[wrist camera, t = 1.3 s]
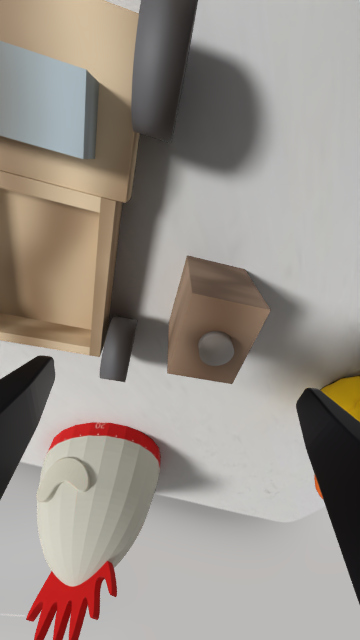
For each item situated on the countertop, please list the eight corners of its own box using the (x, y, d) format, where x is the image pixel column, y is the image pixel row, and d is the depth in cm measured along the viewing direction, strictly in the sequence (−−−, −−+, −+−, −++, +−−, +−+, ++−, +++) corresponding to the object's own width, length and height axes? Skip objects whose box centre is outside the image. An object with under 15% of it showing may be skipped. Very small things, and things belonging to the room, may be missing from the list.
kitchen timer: (26, 437, 30) (-79, 640, 17) (130, 410, 28) (93, 622, 15) (89, 487, 37) (46, 656, 25) (175, 469, 35) (176, 645, 22)
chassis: (193, 26, 12) (204, -45, 8) (131, 351, 23) (122, 395, 19) (-158, -110, 10) (-406, -310, 6) (-41, 321, 21) (-95, 363, 17)
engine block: (244, 269, 19) (275, 318, 13) (218, 332, 22) (234, 393, 16) (187, 255, 18) (193, 300, 12) (168, 322, 21) (167, 382, 16)
